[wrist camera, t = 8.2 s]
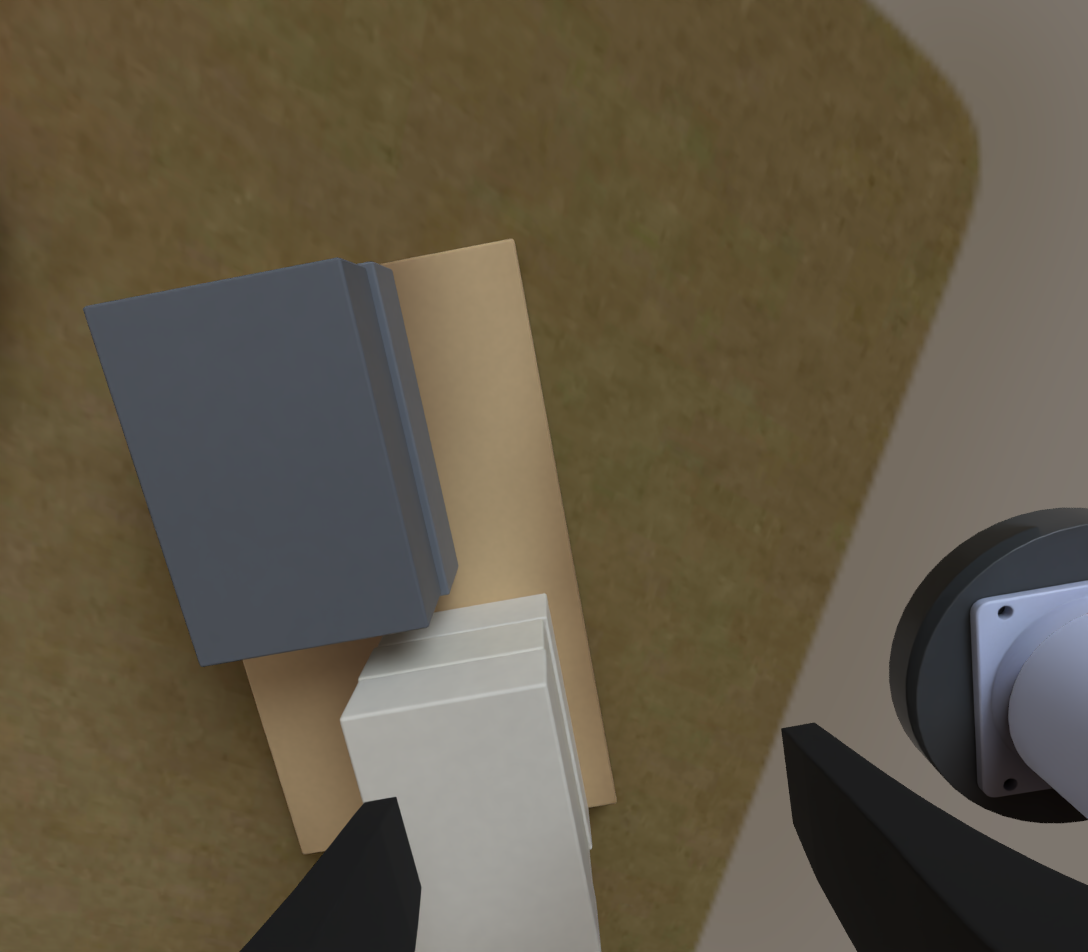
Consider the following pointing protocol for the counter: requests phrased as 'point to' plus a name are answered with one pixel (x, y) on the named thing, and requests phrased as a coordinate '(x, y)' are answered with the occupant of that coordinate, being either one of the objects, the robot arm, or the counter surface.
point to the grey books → (282, 456)
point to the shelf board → (452, 528)
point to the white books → (485, 657)
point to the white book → (480, 802)
